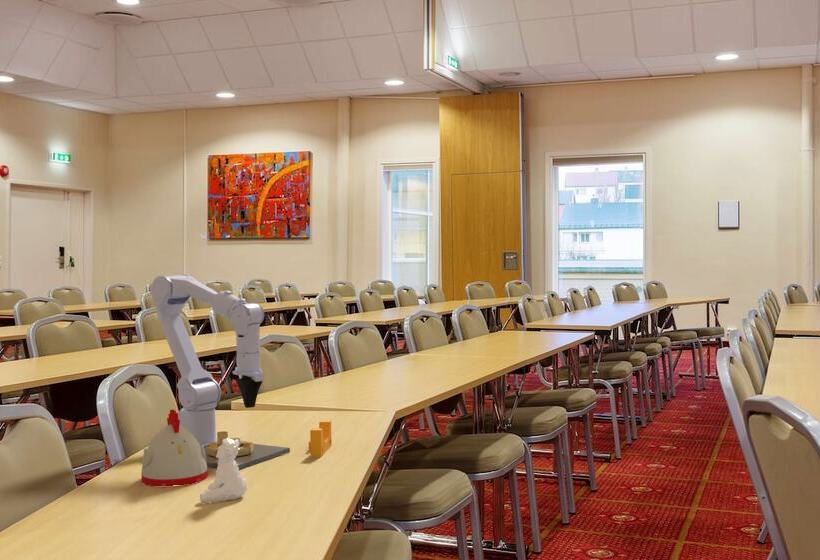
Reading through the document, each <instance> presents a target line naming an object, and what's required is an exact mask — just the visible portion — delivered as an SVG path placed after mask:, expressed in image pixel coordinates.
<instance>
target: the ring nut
mask: <svg viewBox="0 0 820 560" xmlns="http://www.w3.org/2000/svg"><path fill="white" fill-rule="evenodd" d="M228 433H229V432H228V431H216V438H217V442H209V445H207V446H208V447H207V454H208V455H211V456H215V457H216V455H217V451H218V447H219V446H221V444H222V440H223V439H226V438H229V434H228ZM237 438H238V439H240V437H237ZM254 444H255V443H254V442H252V441H246V440H240V447H238V448H239V450H238V454H237V455H236V456H241V455H246V454H249V453H251V452H252V451H253V450H254Z"/></svg>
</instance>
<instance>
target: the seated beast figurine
mask: <svg viewBox="0 0 820 560" xmlns="http://www.w3.org/2000/svg"><path fill="white" fill-rule="evenodd" d="M238 446H239V442H238V440H235V441H234V440H232V439H230V437H228V438H226V439H223V440H222V444H221V446H219V447H218V451H217V455H216V457H217V458H218V459H219V461H218V467H217V468H216V470H215V475H214V480H213V482H211V483H209V484H208V486H207V488H206V489H205V490H204V491H202V492H200V493H199V503H200V502H201V503H207V504H209V503H210V502H215V503H219V502H218V501H222V502H227V500H228V501H235V500H238V499H240V498H241V497H242V496H244V495H245V494H246V491H247V481H246V480H247V479H245V478H244V476H243V475H242V474H241V472H240V470H239V467H238V464H237V463H236V461H235V460H234V459H235V458H236V455H237V454H238V450H239V448H238ZM201 503H200V504H201ZM210 504H211V503H210Z"/></svg>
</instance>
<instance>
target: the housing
mask: <svg viewBox="0 0 820 560" xmlns="http://www.w3.org/2000/svg"><path fill="white" fill-rule="evenodd" d="M229 438H230V437H229ZM238 438H239V437H231V438H230V439H232V440H234V441H235V440H238V442H239V446H238V447H240V441H241V438H239V439H238ZM253 444H254V450H253V451H252V452H251V453H249V454H246V455H241V456H236V458H235V459H234V460H235V461H236V463H237V464H238V467H239V471H240V470H243V469H245V468H249V467H250V466H254V465H257V464H259V463H262V462H265V461H268V460H271V459H275V458H276V457H279V456H282V455H284V454H285V455H286V454H288V453H290V452H291V448H290V447H285V446H278V445H277V446H276V445H269V444H259V443H253ZM208 446H209V445H207V446H204V450H205V455H206V459H205V460H206V463H207V468H215V469H217V467H218V461H219V459H218V458H217V457H215V456H211V455H208V454H207V447H208Z"/></svg>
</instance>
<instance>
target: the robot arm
mask: <svg viewBox="0 0 820 560" xmlns="http://www.w3.org/2000/svg"><path fill="white" fill-rule="evenodd" d="M149 292H150V295H151V297H152V299H153V302H154V304H155V312H156V316H157V319H158V321H159V324H160V326H161V329H162V331H163V334H164V337H165V339H166V341H167V344H168V346H169V349H170V351H171V354H172V356H173V358H174V362H175V363H176V366H177V368H178V371H179V373H180V376H181V377H180V379H179V380H178V382H177V383H176V388H177V389H178V400H179V402H180V404H181V406H182V408H181V409H180V410H179V411H178V412H177V413H178V420H180V425H181V426H183V427H185V428H186V429H188V430H189V431H190V432H191V433H192V434H193V435H194V436H195V438H196V439H197V441H198V442H199V444H200V446H201V445H204V447H206V446H209V442H217V431H216V429H217V427H216V426H217V425H216V407H217V405H218V402H220V399H221V397H222V389H221V387H220V386H221V385H220V384H219V383H218V382H217V381H216V380H215V379H214V377H213V375H212V373H211V372H209V371H207V370H206V369H204V368H203V367H202V364H201V362H200V360H199V357H198V355H197V352H196V350H195V348H194V345H193V342H192V341H191V338H190V335H189V333H188V331H187V328H186V326H185V324H184V321H183V318H182V316H181V311H182V310H183V309H184V307H185V306H186V304H187V303H188V302H189V300H190V299H191V297H192V298H195V299H196V300H199V301H202V302H204V303H206V304H209V305H211V309H212V310H213V312H214V313H217V314H218V315H220V316H223V317H224V318H227V319H228V320H230V322H231V323H232V325H233V327H234V333H235V334H236V335H235V337H236V340H235V341H236V343H235V344H236V366H235V367H234V370H232V375H236V376H241V378H237V379H235V383H236V384H237V386H238V388H239V391H240V393H241V397H242V401H243V404H244V405H243V406H244V408H247V409H250V408H255V406H256V403H257V397H258V394H259V390H260V387H261V386H262V384H263V382H264V381H265V379H264V378H265V375H264V374H265V373H264V372H263V370H262V368H261V334H260V333H261V331H260V329H261V328H260V325H261V324H262V323H263V321H264V320H265V311H264V308H263V306H261V305H260V304H259V303H258V302H255V301H252V302H247V301H246V300H247V299H246V298H240V297H237V296H236V295H233V292H232V291H230V290H221V291H219V292H218V291H216V290H213V289H212V288H211V287H208V285H205V284H203V283H202V282H200V281H198V280H196V278H195V277H192V276H190V275H189V274H187V273H186V274H185V273H184V274H181V275H180V274H179V275H158V276H156V277H155V278H154V280H153V281H152V284H151V287H150V290H149Z"/></svg>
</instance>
